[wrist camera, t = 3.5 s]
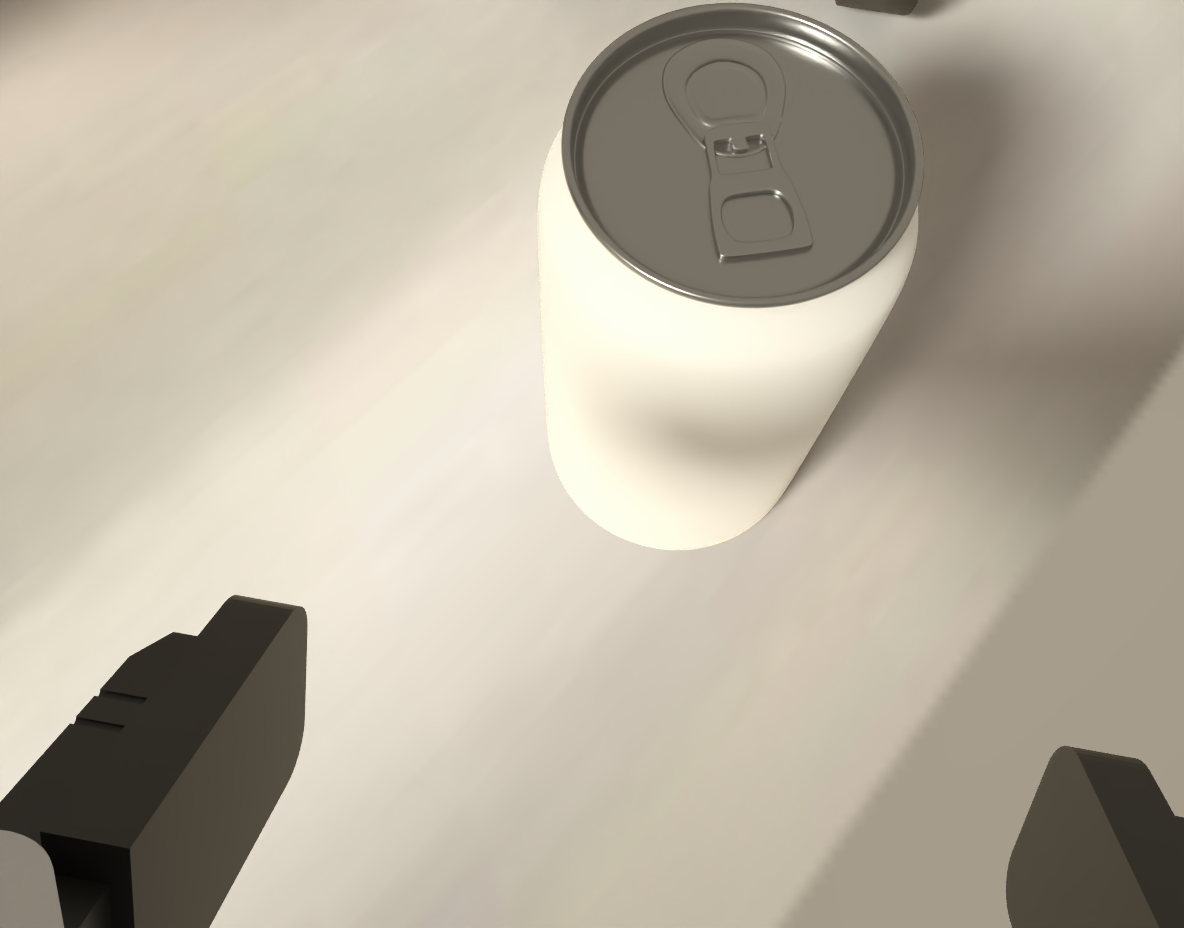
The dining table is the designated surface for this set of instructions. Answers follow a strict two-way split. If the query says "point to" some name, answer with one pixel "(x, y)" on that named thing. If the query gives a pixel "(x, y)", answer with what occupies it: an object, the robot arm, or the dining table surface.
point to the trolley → (881, 5)
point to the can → (716, 262)
